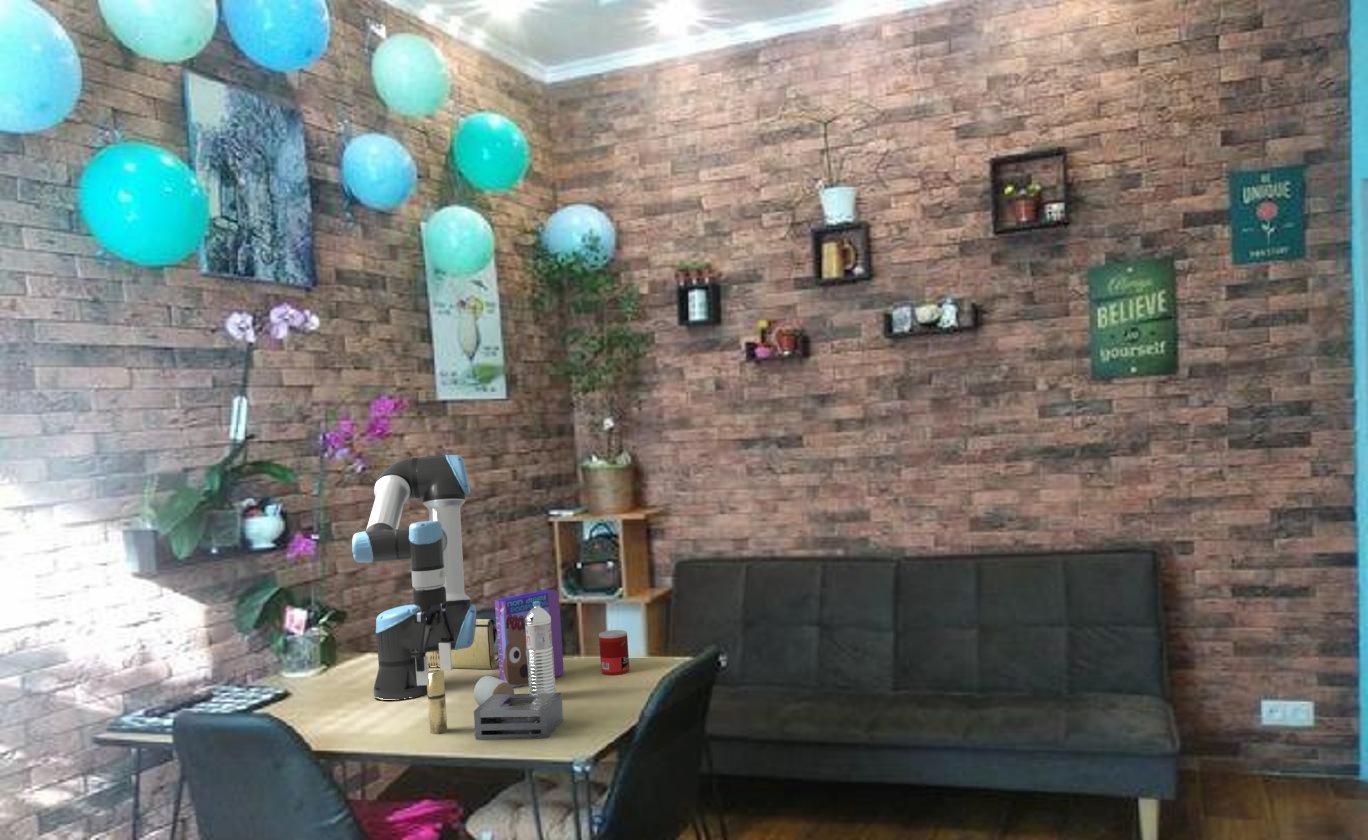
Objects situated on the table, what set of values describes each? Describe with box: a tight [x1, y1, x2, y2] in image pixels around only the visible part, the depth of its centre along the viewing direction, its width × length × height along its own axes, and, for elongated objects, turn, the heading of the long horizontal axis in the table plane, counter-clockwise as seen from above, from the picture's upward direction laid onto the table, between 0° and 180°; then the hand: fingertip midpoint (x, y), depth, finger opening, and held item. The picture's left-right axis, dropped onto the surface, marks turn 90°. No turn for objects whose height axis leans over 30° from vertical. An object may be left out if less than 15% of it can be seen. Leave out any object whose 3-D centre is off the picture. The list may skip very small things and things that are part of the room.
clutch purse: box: [425, 618, 499, 671], centre depth 291 cm, size 30×7×15 cm, turn 70°
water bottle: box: [524, 601, 557, 694], centre depth 251 cm, size 7×7×25 cm
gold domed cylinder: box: [426, 669, 448, 735], centre depth 228 cm, size 4×4×14 cm
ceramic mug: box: [473, 675, 515, 706], centre depth 246 cm, size 11×8×8 cm
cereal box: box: [494, 589, 565, 689], centre depth 268 cm, size 17×5×24 cm, turn 129°
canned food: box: [598, 629, 630, 676], centre depth 272 cm, size 8×8×11 cm
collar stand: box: [473, 692, 564, 740], centre depth 225 cm, size 17×13×6 cm
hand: (435, 677), depth 228 cm, fingers open, 13 cm apart
